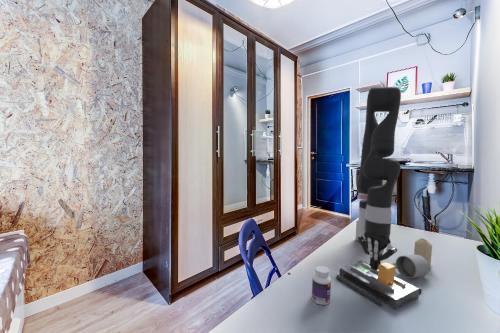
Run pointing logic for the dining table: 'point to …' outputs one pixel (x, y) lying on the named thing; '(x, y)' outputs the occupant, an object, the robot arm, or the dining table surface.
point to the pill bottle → (321, 285)
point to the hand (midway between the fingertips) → (374, 268)
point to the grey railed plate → (364, 291)
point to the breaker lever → (386, 272)
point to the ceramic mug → (412, 266)
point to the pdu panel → (379, 285)
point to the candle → (423, 249)
